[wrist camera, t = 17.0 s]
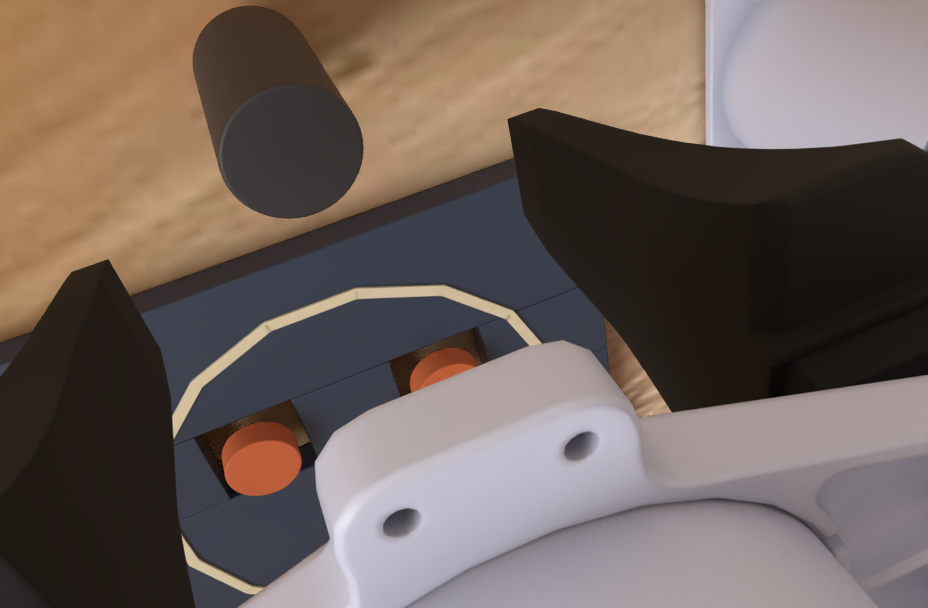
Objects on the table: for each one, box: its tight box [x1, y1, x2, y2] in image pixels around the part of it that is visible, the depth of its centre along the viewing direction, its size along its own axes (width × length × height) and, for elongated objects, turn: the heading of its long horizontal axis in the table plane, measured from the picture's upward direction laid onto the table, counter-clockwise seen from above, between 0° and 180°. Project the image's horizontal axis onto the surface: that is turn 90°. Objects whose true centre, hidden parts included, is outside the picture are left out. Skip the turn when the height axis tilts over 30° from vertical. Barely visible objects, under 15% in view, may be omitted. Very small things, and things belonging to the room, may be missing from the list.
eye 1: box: [222, 422, 302, 496], centre depth 28 cm, size 3×3×1 cm
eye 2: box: [410, 348, 479, 392], centre depth 30 cm, size 3×3×1 cm
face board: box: [0, 159, 610, 608], centre depth 31 cm, size 20×18×1 cm
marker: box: [193, 6, 363, 219], centre depth 20 cm, size 3×3×7 cm
